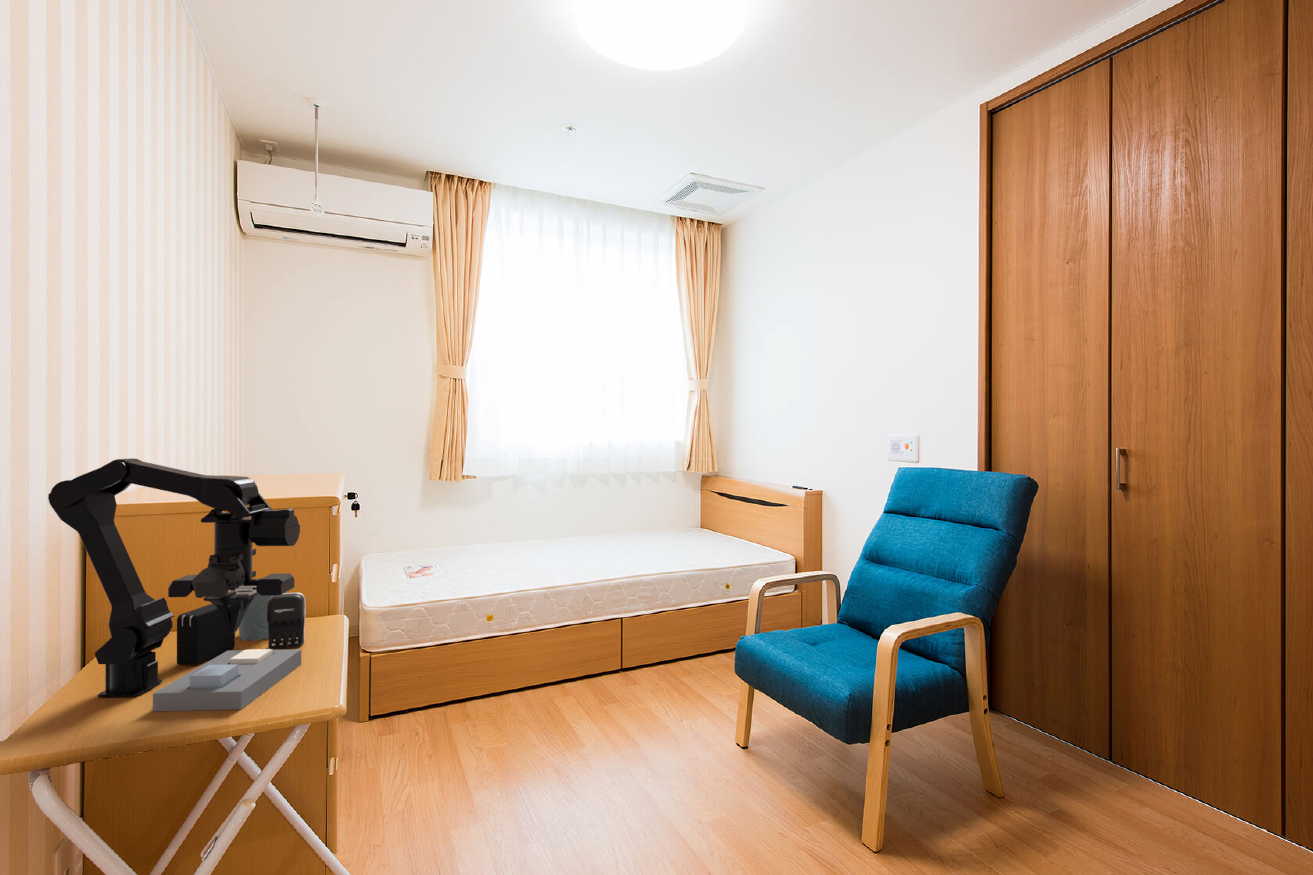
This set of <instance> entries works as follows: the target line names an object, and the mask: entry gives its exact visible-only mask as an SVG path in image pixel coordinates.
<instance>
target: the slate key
mask: <svg viewBox="0 0 1313 875" xmlns="http://www.w3.org/2000/svg"><path fill="white" fill-rule="evenodd" d="M238 677H239V664H231V665H208V666H206V667H205V668H203V669H201V670H199V671H198V672H196V673H194V674H193V675H191V676H190V689H204V688H223V687H224V686H226V685H227V684H229V683H230V682H232V681H233V680H235V679H236V678H238Z"/></svg>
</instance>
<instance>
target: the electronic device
mask: <svg viewBox="0 0 1313 875" xmlns="http://www.w3.org/2000/svg"><path fill="white" fill-rule="evenodd" d="M235 646H236V632H235V633H229V631H228V629H227V627H226V625H225V622H224V620H223V618H222V616H221V614H220V612H219V610H218V609H217V607H216V606H215V605H214V604H212V603H210V604H207V605H204V606H200V607H198V608H195V609H192V610H190V611H186V612H183V613H180V614H179V615H178V616H177V618H176V664H177V665H182V666H183V665H184V666H202V665H203V664H205V663H207V662H209V661H210V660H212V659H214V658H216V657H217V656H219V655H221V654H223V653H224V652H226V651H230V650H234V649H235Z"/></svg>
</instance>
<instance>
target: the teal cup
mask: <svg viewBox="0 0 1313 875" xmlns="http://www.w3.org/2000/svg"><path fill="white" fill-rule="evenodd" d="M261 578H262V577H260V578H258V579H261ZM241 585H243V584H241ZM285 593H287V592H285ZM271 597H272V596H261V595H260V594H258V595H256V596H255V597H254V599H253V600H252V602H251V603H250V605H249V607H248V609H247V611H246V613H245V615H244V617H243V619H242V621H241V623H240V625H239V628H238V634H239V639H240V638H241V639H240V640H242V641H252V642H253V641H262V640H269V630H268V622H267V605H268V602H269V600H270V598H271Z"/></svg>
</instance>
